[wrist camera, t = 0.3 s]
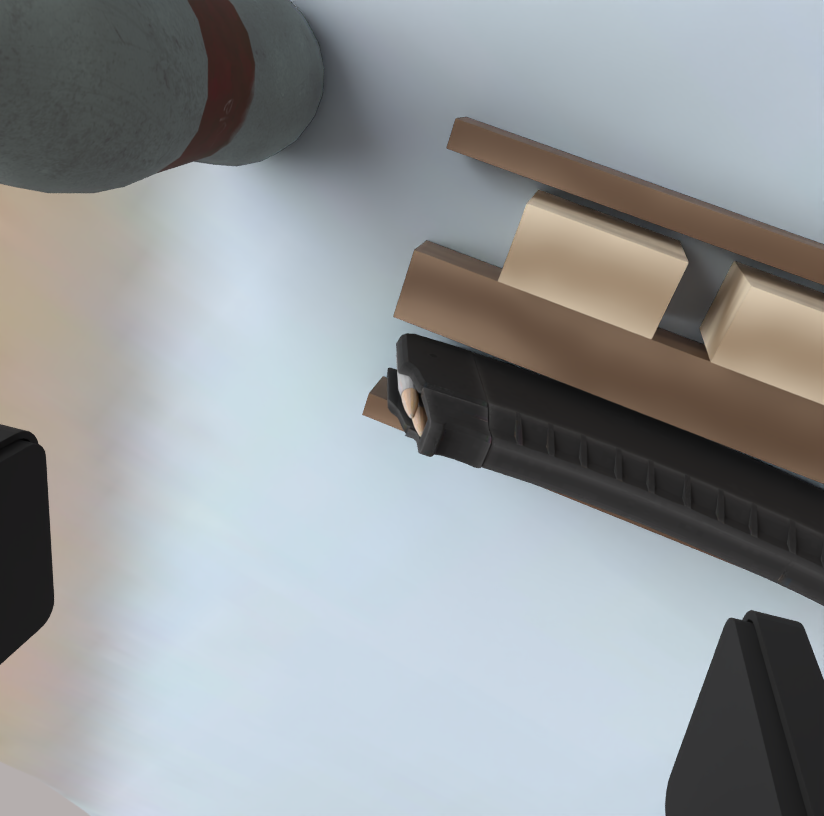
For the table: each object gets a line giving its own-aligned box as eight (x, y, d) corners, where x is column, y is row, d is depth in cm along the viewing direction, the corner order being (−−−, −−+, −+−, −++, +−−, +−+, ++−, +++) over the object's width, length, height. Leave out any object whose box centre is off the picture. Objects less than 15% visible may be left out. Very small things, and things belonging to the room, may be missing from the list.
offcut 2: (733, 260, 41) (751, 286, 35) (882, 314, 40) (923, 348, 34) (699, 327, 42) (710, 362, 37) (840, 380, 42) (873, 423, 36)
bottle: (172, -16, 42) (-612, -209, 15) (329, -29, 40) (-265, -280, 13) (196, 161, 46) (-409, 259, 19) (341, 159, 44) (-108, 264, 17)
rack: (466, 116, 41) (455, 118, 38) (1067, 331, 38) (1101, 349, 35) (376, 396, 49) (362, 414, 46) (871, 595, 45) (887, 626, 43)
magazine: (1032, 638, 35) (409, 477, 30) (987, 687, 36) (384, 542, 31) (835, 447, 50) (399, 318, 45) (809, 487, 52) (383, 367, 46)
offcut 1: (538, 189, 42) (526, 203, 36) (679, 240, 41) (688, 262, 35) (512, 258, 43) (497, 281, 38) (647, 308, 43) (651, 339, 37)
